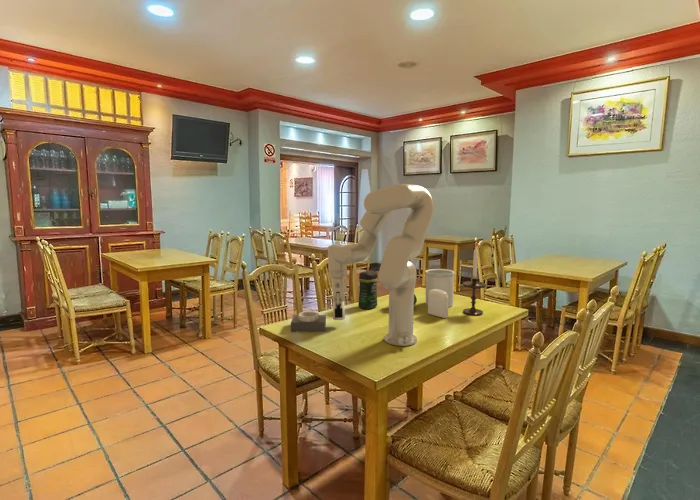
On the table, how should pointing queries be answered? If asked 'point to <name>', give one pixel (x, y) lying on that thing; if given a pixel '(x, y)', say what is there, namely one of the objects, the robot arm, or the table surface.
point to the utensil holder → (440, 282)
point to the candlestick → (474, 287)
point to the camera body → (308, 322)
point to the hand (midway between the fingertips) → (338, 315)
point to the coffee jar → (368, 289)
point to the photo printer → (438, 303)
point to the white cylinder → (342, 311)
